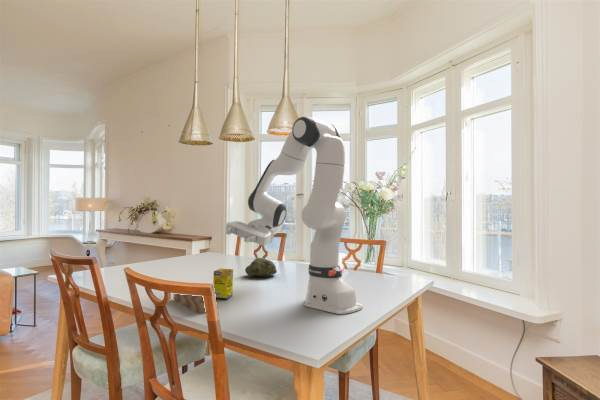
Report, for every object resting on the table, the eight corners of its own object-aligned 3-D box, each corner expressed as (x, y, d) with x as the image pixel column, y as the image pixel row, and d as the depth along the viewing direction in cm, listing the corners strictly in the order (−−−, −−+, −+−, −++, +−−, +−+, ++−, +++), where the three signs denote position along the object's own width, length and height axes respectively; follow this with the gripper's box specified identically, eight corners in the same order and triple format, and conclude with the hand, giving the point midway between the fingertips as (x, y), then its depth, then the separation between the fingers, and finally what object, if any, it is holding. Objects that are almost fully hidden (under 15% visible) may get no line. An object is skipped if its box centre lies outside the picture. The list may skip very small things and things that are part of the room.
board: (208, 312, 118) (208, 294, 118) (200, 313, 116) (200, 296, 116) (181, 298, 134) (181, 282, 134) (173, 299, 132) (174, 283, 132)
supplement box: (227, 300, 133) (227, 271, 133) (212, 299, 134) (213, 270, 134) (233, 296, 139) (233, 269, 139) (219, 295, 140) (219, 268, 140)
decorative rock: (251, 275, 185) (251, 257, 187) (280, 275, 182) (279, 256, 183) (241, 278, 171) (241, 258, 172) (272, 278, 168) (271, 257, 169)
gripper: (239, 216, 154) (217, 221, 142) (277, 230, 145) (257, 236, 133) (237, 229, 155) (215, 235, 143) (274, 244, 146) (255, 252, 134)
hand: (236, 236), depth 138 cm, fingers open, 8 cm apart
